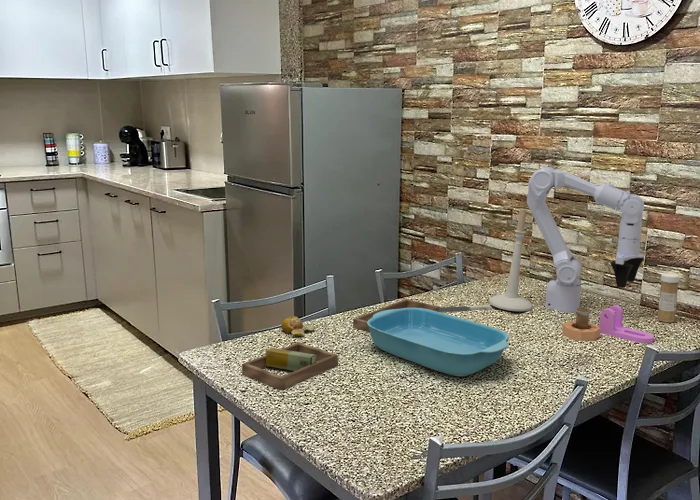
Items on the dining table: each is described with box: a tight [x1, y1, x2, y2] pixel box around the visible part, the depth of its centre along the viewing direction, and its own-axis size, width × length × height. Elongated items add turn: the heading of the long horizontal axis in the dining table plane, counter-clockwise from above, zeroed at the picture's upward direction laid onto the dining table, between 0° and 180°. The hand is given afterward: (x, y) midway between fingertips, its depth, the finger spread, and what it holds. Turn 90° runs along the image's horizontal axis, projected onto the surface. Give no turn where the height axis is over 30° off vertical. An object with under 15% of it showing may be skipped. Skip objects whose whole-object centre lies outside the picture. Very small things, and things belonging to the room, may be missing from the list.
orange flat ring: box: [561, 320, 601, 342], centre depth 169 cm, size 9×9×2 cm
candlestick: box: [488, 207, 533, 312], centre depth 191 cm, size 13×13×30 cm
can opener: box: [440, 304, 493, 313], centre depth 190 cm, size 19×6×5 cm, turn 93°
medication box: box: [265, 347, 317, 372], centre depth 146 cm, size 12×3×4 cm, turn 69°
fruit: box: [280, 315, 316, 337], centre depth 171 cm, size 8×8×4 cm
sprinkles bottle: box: [657, 272, 680, 323], centre depth 179 cm, size 5×5×13 cm
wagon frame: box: [352, 298, 441, 333], centre depth 180 cm, size 12×25×2 cm, turn 139°
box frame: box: [241, 342, 339, 391], centre depth 146 cm, size 13×18×2 cm
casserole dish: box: [367, 308, 510, 377], centre depth 156 cm, size 37×22×7 cm, turn 45°
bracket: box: [598, 304, 654, 344], centre depth 167 cm, size 13×6×7 cm, turn 43°
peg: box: [575, 307, 591, 330], centre depth 168 cm, size 3×3×7 cm
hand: (625, 284), depth 183 cm, fingers open, 7 cm apart
